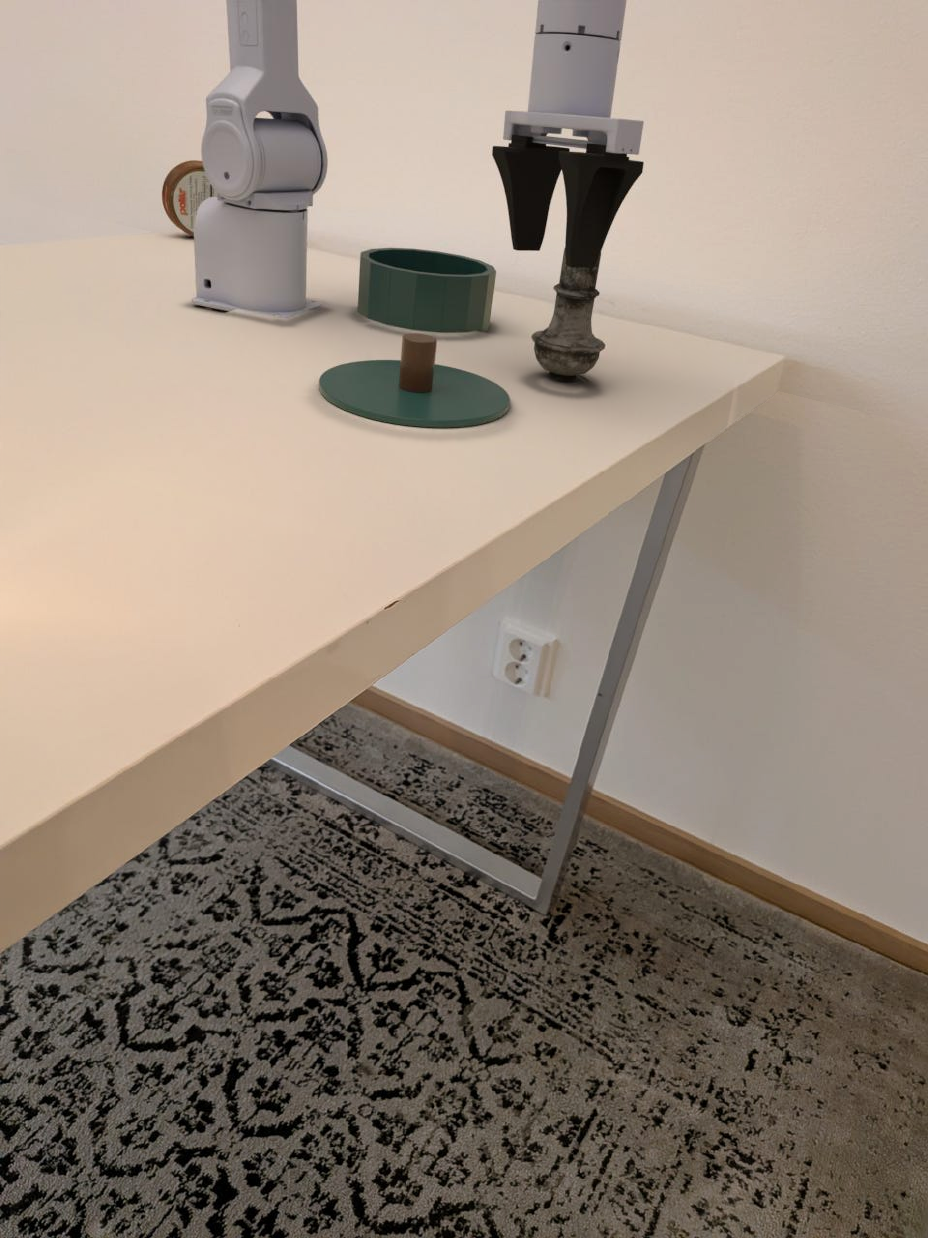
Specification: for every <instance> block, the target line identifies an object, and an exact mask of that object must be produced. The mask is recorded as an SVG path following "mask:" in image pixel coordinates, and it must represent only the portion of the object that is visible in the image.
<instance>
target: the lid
mask: <svg viewBox="0 0 928 1238" xmlns="http://www.w3.org/2000/svg"><path fill="white" fill-rule="evenodd" d="M401 339H402V340H401V349H400V350H401V352H400V359H369V360H368V359H367V360H359V361H352V362H347V363H341V364H339V365H336V366H333V367H331V368H328V369H327V370H324V372H322V373H321V375H320V376H319V378H318V390H319V392H320V394H321V396H322V397H323V399H325V400H326V401H328V403H331V404H332V405H334V406H335V407H337V408H339V409H342V410H344V411H346V412H349V413H350V414H353V415H357V416H360V417H363V418H367V419H369V420H374V421H379V422H384V423H389V424H395V425H401V426H410V427H418V428H419V427H420V428H437V429H438V428H442V429H443V428H465V427H472V426H473V427H474V426H479V425H483V424H487V423H491V422H494V421H496V420H498V419H500V418H502V417H503V416H504V415H506V413H507V412H508V411H509V408H510V403H511V399H510V395H509V394H508V392H507V391H506V390H505V388H503V387H502V386H500V385H499V384H498V383H496V382H494V381H493V380H490V379H488V378H486V377H484V376H482V375H479V374H476V373H474V372H470V371H467V370H464V369H461V368H455V367H451V366H448V365H442V364H437V363H436V355H437V345H438V339H437V338H436V337H435V336H433V335H429V334H425V333H410V332H409V333H405V334H403V335H402V337H401Z"/></svg>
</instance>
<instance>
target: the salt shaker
mask: <svg viewBox="0 0 928 1238" xmlns="http://www.w3.org/2000/svg"><path fill="white" fill-rule="evenodd" d="M601 257H602V252H601V253H600V256H599V258H598V261H597V263H596V266H595V268H572V267H568V266H567V265H566V256H565V248H564V249H563V255H562V261H561V267H560V268H561V269H560V274H559V281H558V283H557V284H555V285H554V286H553V287H552V289H553V290H554V291H555V292H556V294H555V302H554V308H553V309H554V310H553V314H552V317H551V320H550V322H549V324H548V327H546V328H544V329H542V330H538V331H535V332H534V333H532V335H531V340H532V341H533V342H534V345H533V351H534V352H533V353H534V355H535V360H536V361H537V362H538V364H539V365H540V367H541V368H542V369H544V370H546V371H547V372H548V378H549V379H551V380H553V381H556V382H560V383H575V382H576V381H577V380H578V378H581V379H583V380H585V381H586V382H587V383H590V381H589V380H588V378H586V377H584V376H583V375H585V374H586V373H588V372H589V371H591V370H592V369H593V368H594V367H595V366H596V364H597V362H598V360H599V359H600V353H601V352H602V351H603V350H605V349H606V344H605V342H604V341H603V340H602V339H600V338H598V337H596V336H595V334H594V333H593V327H592V316H593V312H594V311H593V309H594V304H595V299H596V298H597V297H599V296H600V291H599V290H598V289H597V288H596V286H597V281H598V276H599V270H600V264H601V259H602V258H601Z"/></svg>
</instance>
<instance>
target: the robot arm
mask: <svg viewBox="0 0 928 1238" xmlns="http://www.w3.org/2000/svg"><path fill="white" fill-rule="evenodd" d="M627 1H628V0H537V9H536V19H535V20H536V21H535V31H534V39H533V50H532V51H533V52H532V60H531V71H530V81H529V82H530V83H529V93H528V104H527V111H525V110H524V111H521V110H505V112H504V123H503V135H502V140H504V141H510V142H508V146H504V145H502V146H501V145H493V146H492V151H491V152H492V153H491V154H492V155H491V156H492V158H493V160H494V162H495V165H496V167H497V170H498V173H499V176H500V179H501V182H502V186H503V190H504V196H505V199H506V200H505V201H506V206H507V213H508V221H509V229H510V235H511V236H510V237H511V244H512V249H513V250H515V251H517V252H518V251H519V252H520V251H521V252H522V251H529V252H531V251H533V252H535V251H536V252H539V251H541V248H542V245H543V242H544V238H545V234H546V230H547V224H548V219H549V212H550V207H551V203H552V200H553V199H552V198H553V195H554V191H555V189H556V185H557V183H558V179H559V177H560V174H561V172H562V177H563V183H564V190H565V191H564V192H565V201H566V202H565V203H566V223H565V224H566V225H565V242H564V243H565V245H564V249H565V256H566V265H567V266H568V267H572V268H595V266H596V263H597V261H598V258H599V256H600V253H601V254H602V250H603V248H604V245H605V242H606V240H607V237H608V235H609V232H610V229H611V227H612V224H613V222H614V220H615V218H616V216H617V213H618V211H619V209H620V208H621V205H622V203H623V202H624V200H625V199H626V197H627V195H628V194H629V192H630V191H631V189H632V187H633V186H634V185H635V183H636V181H637V180H638V179H639V177H640V176H641V175H642V174H643V170H644V161H641V160H635V159H630V156H628V155H634V156H635V155H636V156H638V155H640V150H641V149H640V148H641V142H642V136H643V129H644V120H640V119H629V118H628V119H627V118H616V117H612V110H613V103H614V94H615V87H616V80H617V74H618V73H617V72H618V65H619V58H620V51H621V44H622V43H621V41H622V37H623V29H624V21H625V16H626V15H625V14H626V7H627ZM225 2H226V16H227V17H226V19H227V20H226V21H227V34H228V52H229V53H228V54H229V69H230V70H229V73H228V74H227V75H226V76H225V77H224V78H223V79H222V80H221V81H220V82H219V83H218V84H217V85H216V86H215V87H214V88H213V89H212V90H211V91H210V92H209V93H208V95H206V98H205V106H206V108H205V109H206V120H205V127H204V132H203V135H202V138H201V150H200V151H201V161H202V162H203V167H204V170H205V173H206V176H207V178H208V180H209V182H210V184H211V185H212V187H213V188H214V190H215V191H216V192H217V197H209V198H207V199H206V200H204V201H203V202H202V203H201V205H200V206H199V208H198V211H197V214H196V218H195V224H194V236H193V247H194V269H195V271H194V272H195V274H194V275H195V293H196V294H195V295H196V296H195V297H193V298H191V304H192V305H196V306H201V307H205V308H209V309H215V310H220V311H225V312H231V311H235V310H240V311H245V312H250V313H255V314H258V315H259V314H260V315H265V316H269V317H276V318H279V319H288V318H291V317H293V316H296V315H298V314H301V313H304V312H306V311H308V310H311V309H314V308H317V307H319V306H322V305H323V302H321V301H316V300H311V299H307V267H308V266H307V264H308V261H307V260H308V255H307V254H308V222H309V221H308V217H309V215H308V214H309V209H308V207H313V206H314V195H315V194H316V193H318V192H319V191H320V189H321V188H322V186H323V185H324V183H325V180H326V177H327V173H328V164H329V163H328V151H327V148H326V144H325V141H324V139H323V136H322V132H321V129H320V122H319V106H318V103H317V102H316V101H315V99H314V98H313V96H312V94H311V93H310V92H309V90H308V89H307V87H306V86H305V85H304V83H303V82H302V80H301V78H300V76H299V42H298V41H299V40H298V39H299V36H298V2H297V0H226V1H225ZM262 112H266V113H268V114H269V115H270V116H271V117H272V118H268V117H267V118H266V117H257V116H258V115H259V114H260V113H262ZM563 129H565V130H566V129H567V130H572V137H578V138H586V139H578V138H568V137H559V136H549V135H548V134H552V135H561V134H562V132H563ZM570 148H575V149H584V150H585V152H583V151H570V150H571V149H570Z"/></svg>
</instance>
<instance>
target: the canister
mask: <svg viewBox="0 0 928 1238" xmlns="http://www.w3.org/2000/svg"><path fill="white" fill-rule="evenodd" d="M496 277H497V270H496V269H495V267H494V266H493V265H491V264H489V263H488V262H484V261H483V260H481V259H476V258H472V257H468V256H466V255H465V256H464V255H461V254H455V253H450V252H443V251H438V250H429V249H420V248H408V247H407V248H406V247H378V248H370V249H367V250H363V251H361V252H360V256H359V275H358V294H357V296H358V297H357V312H358V313H359V314H360V315H362V316H364V317H365V318H366V319H369V320H371V321H375V322H377V323H380V324H383V325H387V326H390V327H391V326H392V327H397V328H402V329H407V330H411V331H420V332H429V333H430V332H431V333H441V334H445V333H446V334H447V333H448V334H449V333H469V332H480V333H487V331H488V330H489V327H490V324H491V316H492V309H493V300H494V293H495V292H494V291H495V284H496Z"/></svg>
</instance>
